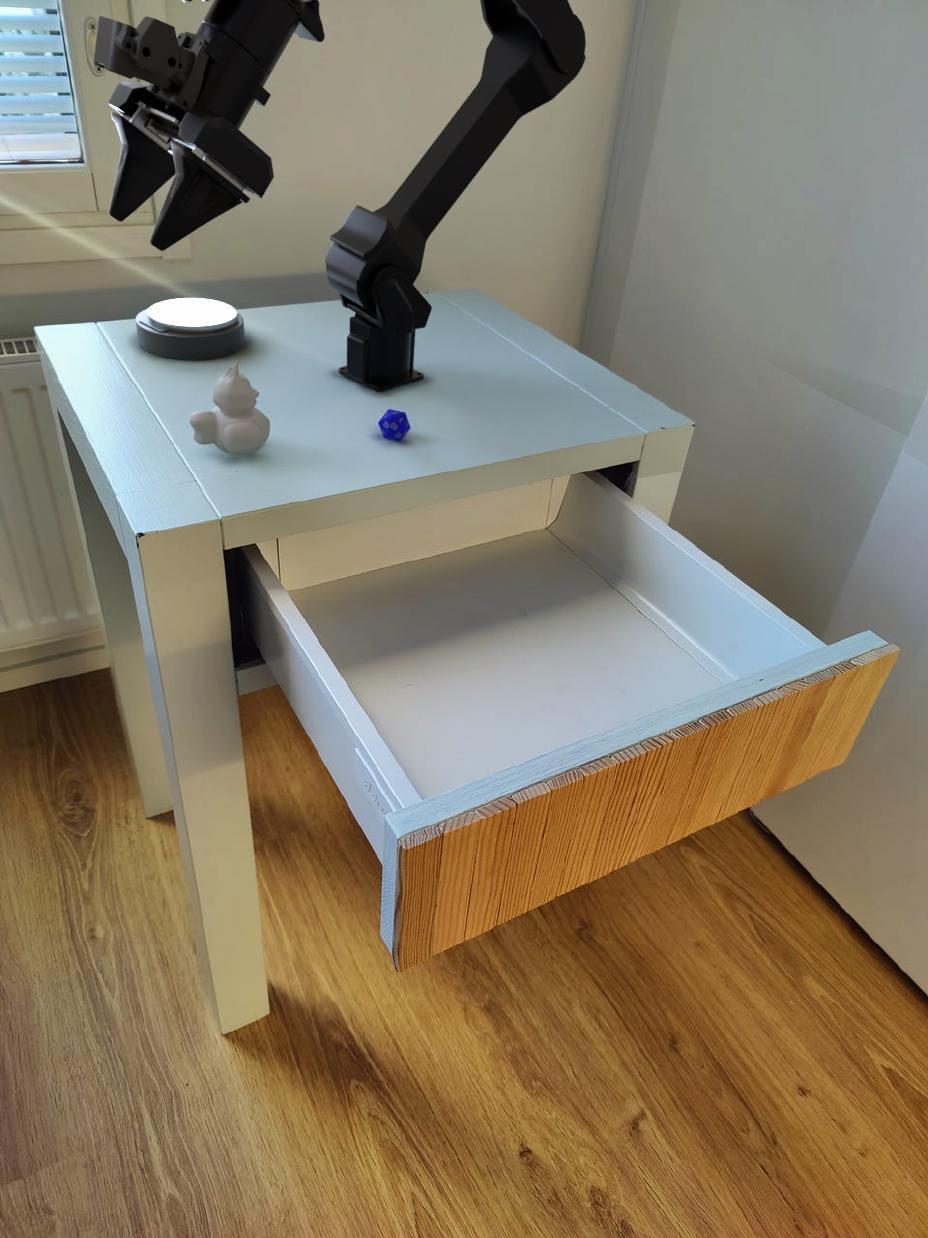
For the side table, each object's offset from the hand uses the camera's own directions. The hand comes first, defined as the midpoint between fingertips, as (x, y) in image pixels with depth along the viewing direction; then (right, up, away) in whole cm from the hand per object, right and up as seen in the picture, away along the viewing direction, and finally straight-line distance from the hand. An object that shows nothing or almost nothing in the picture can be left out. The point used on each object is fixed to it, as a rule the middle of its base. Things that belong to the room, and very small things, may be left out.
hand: (134, 232), depth 69 cm
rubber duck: (+6, -17, +5) cm, 19 cm away
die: (+20, -14, +10) cm, 27 cm away
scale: (-3, -1, +25) cm, 25 cm away
